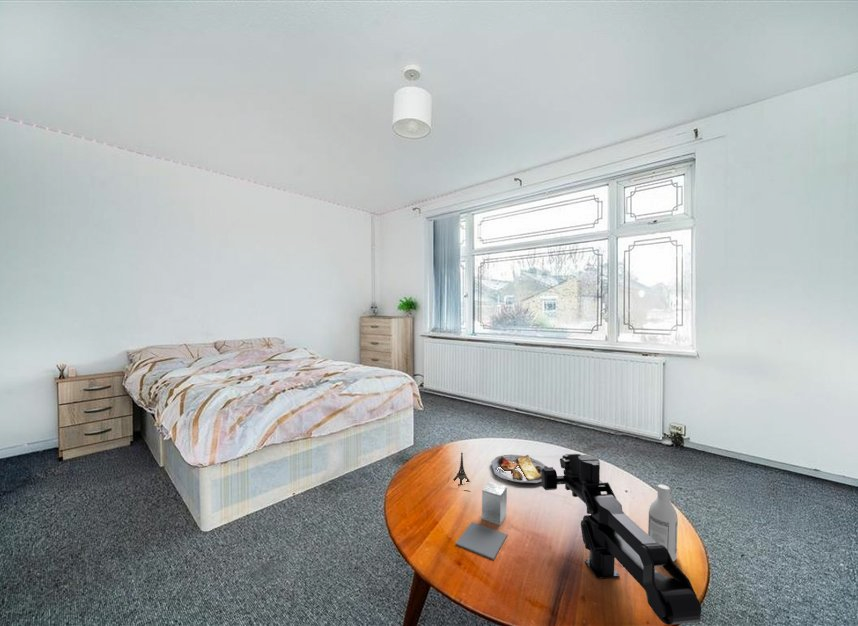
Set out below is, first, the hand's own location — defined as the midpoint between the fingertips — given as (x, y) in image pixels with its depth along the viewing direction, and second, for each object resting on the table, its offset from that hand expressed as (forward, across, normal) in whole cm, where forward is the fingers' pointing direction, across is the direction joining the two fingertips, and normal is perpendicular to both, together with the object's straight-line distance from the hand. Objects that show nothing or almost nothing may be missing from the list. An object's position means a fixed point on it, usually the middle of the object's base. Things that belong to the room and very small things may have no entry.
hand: (557, 466), depth 120 cm
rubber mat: (-10, +30, +16) cm, 35 cm away
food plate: (+31, +1, +16) cm, 35 cm away
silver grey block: (+1, +22, +16) cm, 28 cm away
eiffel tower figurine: (+26, +29, +16) cm, 42 cm away
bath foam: (-22, -21, +18) cm, 35 cm away
